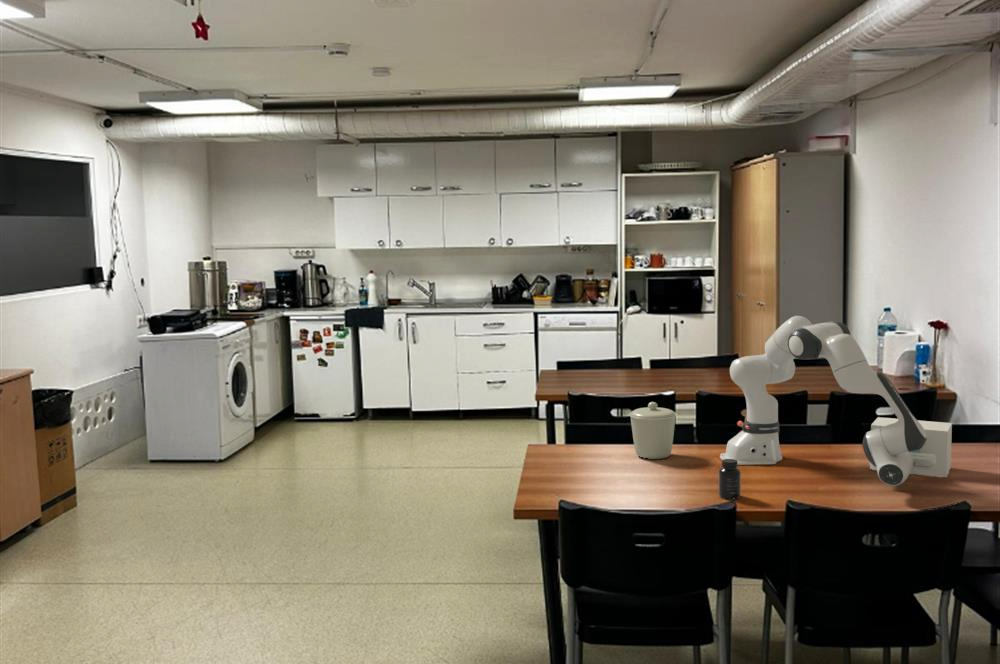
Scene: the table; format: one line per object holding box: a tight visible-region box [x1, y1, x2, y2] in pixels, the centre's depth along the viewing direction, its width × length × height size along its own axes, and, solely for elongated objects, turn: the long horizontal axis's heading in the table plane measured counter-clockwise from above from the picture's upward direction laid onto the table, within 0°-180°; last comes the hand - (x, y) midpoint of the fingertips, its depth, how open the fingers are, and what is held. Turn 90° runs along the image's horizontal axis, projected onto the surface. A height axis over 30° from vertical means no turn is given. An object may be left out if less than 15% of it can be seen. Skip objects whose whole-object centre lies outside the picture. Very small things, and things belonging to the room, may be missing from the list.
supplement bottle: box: [718, 459, 742, 500], centre depth 282 cm, size 7×7×12 cm
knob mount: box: [870, 416, 953, 479], centre depth 308 cm, size 14×24×16 cm, turn 58°
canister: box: [628, 401, 678, 460], centre depth 335 cm, size 18×18×21 cm
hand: (904, 453), depth 295 cm, fingers closed
